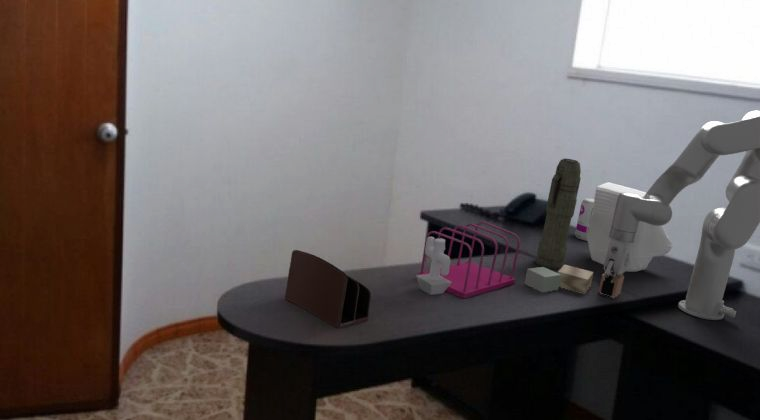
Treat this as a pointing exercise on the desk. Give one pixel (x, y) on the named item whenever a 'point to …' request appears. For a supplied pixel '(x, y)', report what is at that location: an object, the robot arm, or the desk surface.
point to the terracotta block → (617, 285)
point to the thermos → (559, 214)
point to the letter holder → (326, 291)
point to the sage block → (542, 279)
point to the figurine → (435, 268)
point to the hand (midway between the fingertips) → (609, 291)
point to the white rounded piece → (648, 236)
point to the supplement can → (584, 218)
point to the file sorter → (474, 265)
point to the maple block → (575, 278)
